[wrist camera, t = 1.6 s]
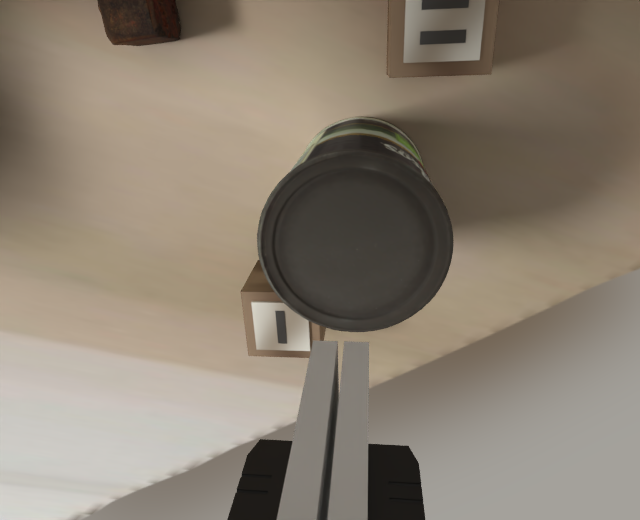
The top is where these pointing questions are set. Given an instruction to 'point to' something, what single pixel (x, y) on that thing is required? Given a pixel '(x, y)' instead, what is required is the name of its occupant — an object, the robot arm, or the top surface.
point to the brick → (140, 21)
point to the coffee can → (356, 230)
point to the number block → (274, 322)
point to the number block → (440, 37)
